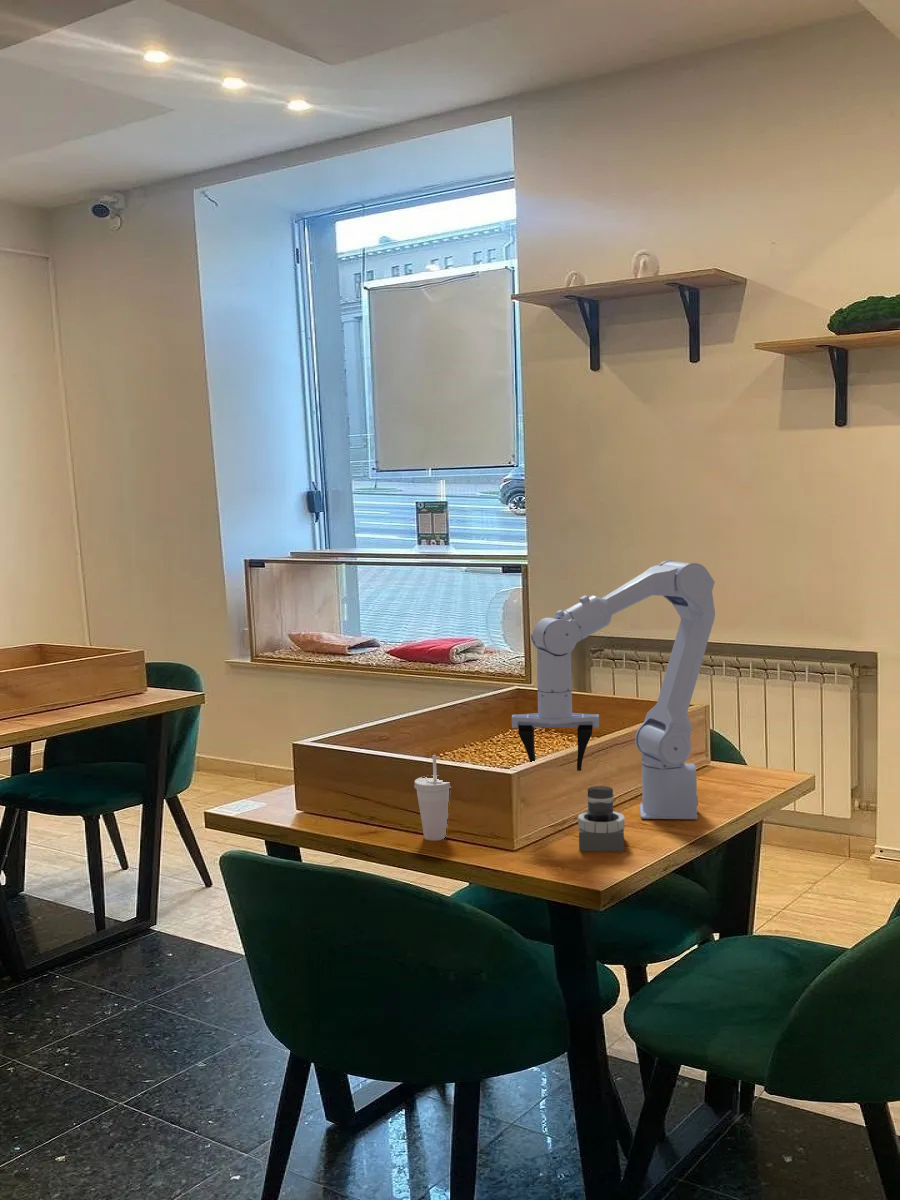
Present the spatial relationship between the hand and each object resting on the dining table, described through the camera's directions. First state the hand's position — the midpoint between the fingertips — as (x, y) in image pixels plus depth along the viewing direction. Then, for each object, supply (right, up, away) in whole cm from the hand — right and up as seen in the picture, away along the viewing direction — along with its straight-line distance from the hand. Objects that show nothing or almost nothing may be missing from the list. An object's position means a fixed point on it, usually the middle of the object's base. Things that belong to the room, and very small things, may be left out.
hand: (556, 769), depth 190 cm
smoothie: (-20, -11, -2) cm, 23 cm away
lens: (+6, -8, -9) cm, 14 cm away
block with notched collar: (+6, -11, -9) cm, 15 cm away
